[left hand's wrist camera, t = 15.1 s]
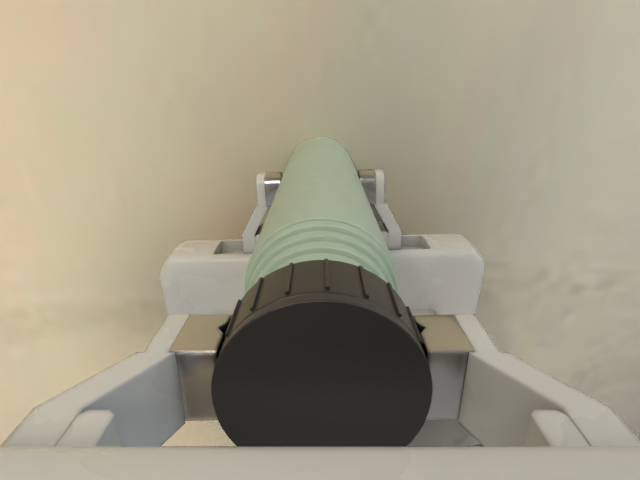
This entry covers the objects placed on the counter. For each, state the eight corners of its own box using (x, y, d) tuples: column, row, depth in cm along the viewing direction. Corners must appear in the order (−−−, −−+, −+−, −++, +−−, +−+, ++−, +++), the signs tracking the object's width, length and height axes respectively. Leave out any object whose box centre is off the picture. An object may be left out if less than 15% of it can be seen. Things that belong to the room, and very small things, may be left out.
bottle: (310, 123, 29) (283, 241, 8) (365, 159, 30) (480, 356, 8) (276, 179, 30) (171, 411, 9) (329, 212, 31) (351, 494, 10)
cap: (289, 220, 9) (281, 254, 7) (453, 318, 10) (482, 370, 8) (195, 365, 10) (170, 424, 9) (347, 440, 11) (352, 507, 10)
